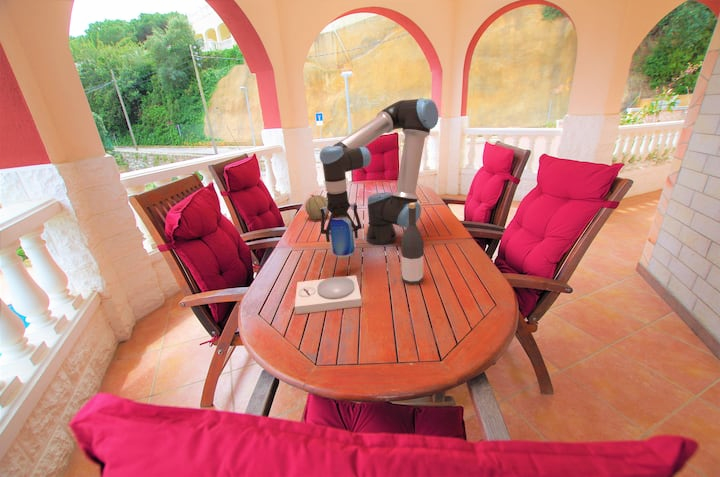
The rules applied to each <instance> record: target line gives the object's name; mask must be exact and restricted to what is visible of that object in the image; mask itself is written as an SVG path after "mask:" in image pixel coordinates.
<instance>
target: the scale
mask: <svg viewBox="0 0 720 477" xmlns="http://www.w3.org/2000/svg"><path fill="white" fill-rule="evenodd" d="M296 283H297V284H296V291H295V292H296V293H295V300H294V310H295V311H294V312H295V315H301V314H302V315H303V314H310V313H317V312H327V311H334V310H335V311H336V310H343V309H350V308H357V307H362V305H363V302H362V297H361V296H362V295H361V291H360V287H359V283H358V278H357V275H347V276H331V277H328V278H323V279H322V278H321V279H313V280H305V281H298V282H296Z"/></svg>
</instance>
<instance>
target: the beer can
mask: <svg viewBox="0 0 720 477" xmlns="http://www.w3.org/2000/svg"><path fill="white" fill-rule="evenodd" d="M352 229H353V228H352V225H351V220H350V219H349V218H348V216H347V217H345V215H344V216H335V218H332V220H331V222H330V233H331V239H332V247H333V250H332V254H334V256H335V257H337V258H339V259H345V258H349V257H350V256H353V255H354V254H353V253H354V252H355V247H354V242H353V232H352Z"/></svg>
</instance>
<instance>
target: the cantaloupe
mask: <svg viewBox="0 0 720 477" xmlns="http://www.w3.org/2000/svg"><path fill="white" fill-rule="evenodd" d="M310 196H311V197H309V198H308V199H307V200H306V202H305V211H306V214H307V215H308V216H309V217H310V218H311V219H314V220H321V216H322V214H321V211H320V208H321V207H327V205H328V200H327V197H325V196H323V195H320V194H319V195H318V194H316V195H314V194H311V195H310ZM329 213H330V211H329V210H327V212H326V213H325V218H326V217H328V215H329Z"/></svg>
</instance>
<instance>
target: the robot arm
mask: <svg viewBox="0 0 720 477" xmlns="http://www.w3.org/2000/svg"><path fill="white" fill-rule="evenodd" d="M376 114H377V115H376V117H374V118H373V119H371V120H369V122H367V123H366V124H364V125H363V126H361V127H359V128H357V130H355V131H353V132H351V133H350V134H349V135H347V136H346V137H344V138H343V139H341V140H340V141H338V142H336V143H335V144H333V145H328V146H325V147H323V148H322V149H321V150H320V152H319V160H320V162H321V163H322V168H323V175H324V184H325V191H326V199H327V200H328V205H327V207H321V208H320V211H321V214H322V216H321V219H320V220H321V221H320V234H321V235H323V234H324V235H325V239H326V242H327V243H329V245H330V251H333V247H332V239H331V233H330V222H331V220H332V218H335V216H344V215H345V217H347V216H348V218H349V219H350V220H351V225H352V232H353V242H354V248H357V244H356V243H357V242H356V239H359V238H358V237H359V234H358V230H361V229H362V223H361V220H360V216H359V213H358V205H357V202H354V203H350V202H349V197H348V191H347V189H348V187H347V176H346V173H348V172H352V171H355V170H358V169H363V168H366V167H368V166H369V165H370V164H371V161H372V157H371V156H372V155H371V152H370V151H369V149H368V148H367V146H369V145H370V144H371V143H372V142H374V141H375V140H377V139H378V138H380V137H381V136H382V135H384V134H389V133H391V132H392V131H395V130H399V129H402V130H401V131H402V133H403V134H404V140H403V146H402V147H403V148H402V154H401V159H400V163H399V164H400V166H399V171H398V175H397V176H398V177H397V182H396V183H397V184H396V189H395V191H394V192H393V193H391V192H378V193H373V194H371V195H369V196H368V198H367V212H368V213H367V215H368V216H367V217H368V228H367V232H366V235H365V237H366V239H365V241H366V242H367V243H369V244H371V245H376V246H384V245H385V246H386V245H390V244H392V243H395V242H396V241H397V239H398V238H397V236H398V235H397V232H396V229H395V226H394V225H396V226H398V227H401V228H402V227H403V228H407V227H408V225H409V209H408V208H409V204H410V203H415V207H416V224H417V223H418V221H419V219H420V218H421V215H422V214H421V213H422V208H421V207H422V206H421V204H419V203H418V200H419V197H418V196H417V195H416V191H417V186H418V180H419V174H420V168H421V163H422V157H423V152H424V146H425V142H426V141H425V140H426V138H427V137H428V136H430V132H431V130H432V129H434V128H435V127H436V126H437V124H438V121H439V111H438V107H437V105H436V103H435V101H434V100H432V99H431V98H423V97H422V98H416V99H402V100H398V101H396V102H394V103H392V104H390V105H389V106H387V107H385V108H384V109H382V110H381V111H379V112H378V113H376ZM350 209H351V210H352V211H353V214H354V217H355V221H356V224H357V225H356V224H355V222H354V220H353V219H352V217H351V215H350V214H349V212H348V210H350ZM327 210H329V213H330V216H329V220H328V222H327V225H326V228H325V221H326V220H325V219H326V217H325V213H326V212H327Z"/></svg>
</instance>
